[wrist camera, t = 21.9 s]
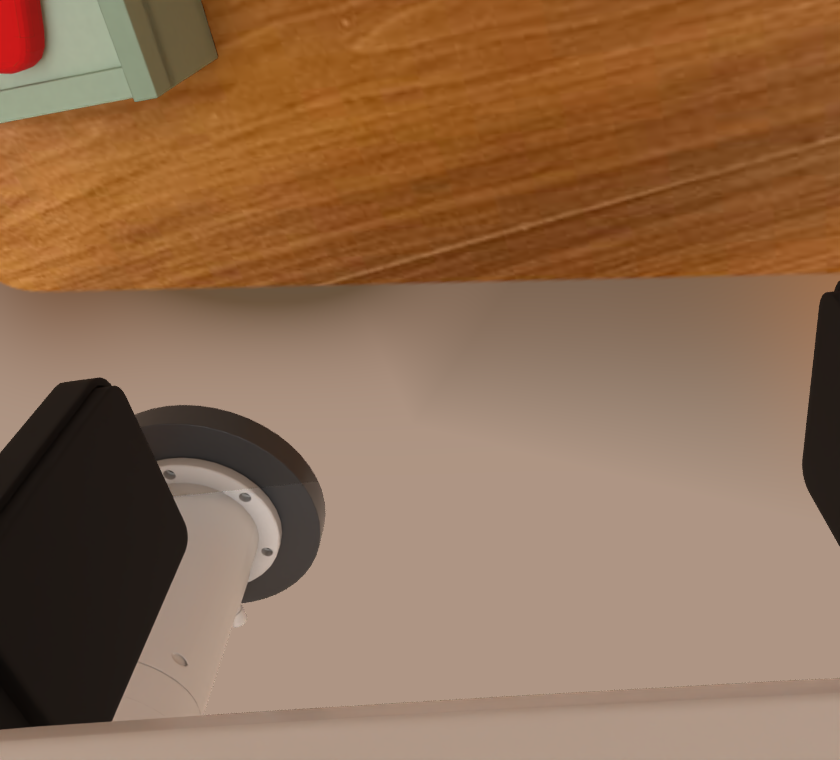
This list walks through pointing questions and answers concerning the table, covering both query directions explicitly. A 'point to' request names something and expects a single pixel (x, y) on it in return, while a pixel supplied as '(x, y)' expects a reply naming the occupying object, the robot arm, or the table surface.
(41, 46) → the popsicle
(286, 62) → the table surface
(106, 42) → the shelf
